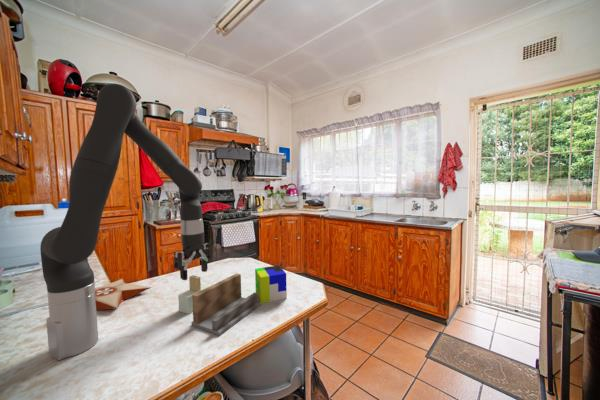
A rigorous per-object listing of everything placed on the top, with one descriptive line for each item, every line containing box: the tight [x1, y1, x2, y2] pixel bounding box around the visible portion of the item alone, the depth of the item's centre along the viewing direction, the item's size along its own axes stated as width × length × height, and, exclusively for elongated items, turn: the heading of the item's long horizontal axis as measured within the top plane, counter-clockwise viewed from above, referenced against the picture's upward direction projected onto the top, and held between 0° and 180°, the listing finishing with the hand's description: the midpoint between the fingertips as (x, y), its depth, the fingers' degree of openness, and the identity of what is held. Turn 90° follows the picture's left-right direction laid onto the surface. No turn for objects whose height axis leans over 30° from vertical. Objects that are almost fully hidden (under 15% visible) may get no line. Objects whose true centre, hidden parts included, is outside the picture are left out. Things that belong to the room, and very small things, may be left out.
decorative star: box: [95, 278, 152, 311], centre depth 92 cm, size 28×4×30 cm
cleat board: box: [191, 273, 262, 337], centre depth 81 cm, size 20×12×10 cm, turn 153°
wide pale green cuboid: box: [177, 274, 211, 315], centre depth 87 cm, size 10×5×11 cm, turn 153°
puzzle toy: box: [254, 264, 288, 304], centre depth 95 cm, size 10×10×10 cm
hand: (194, 275), depth 87 cm, fingers open, 8 cm apart
